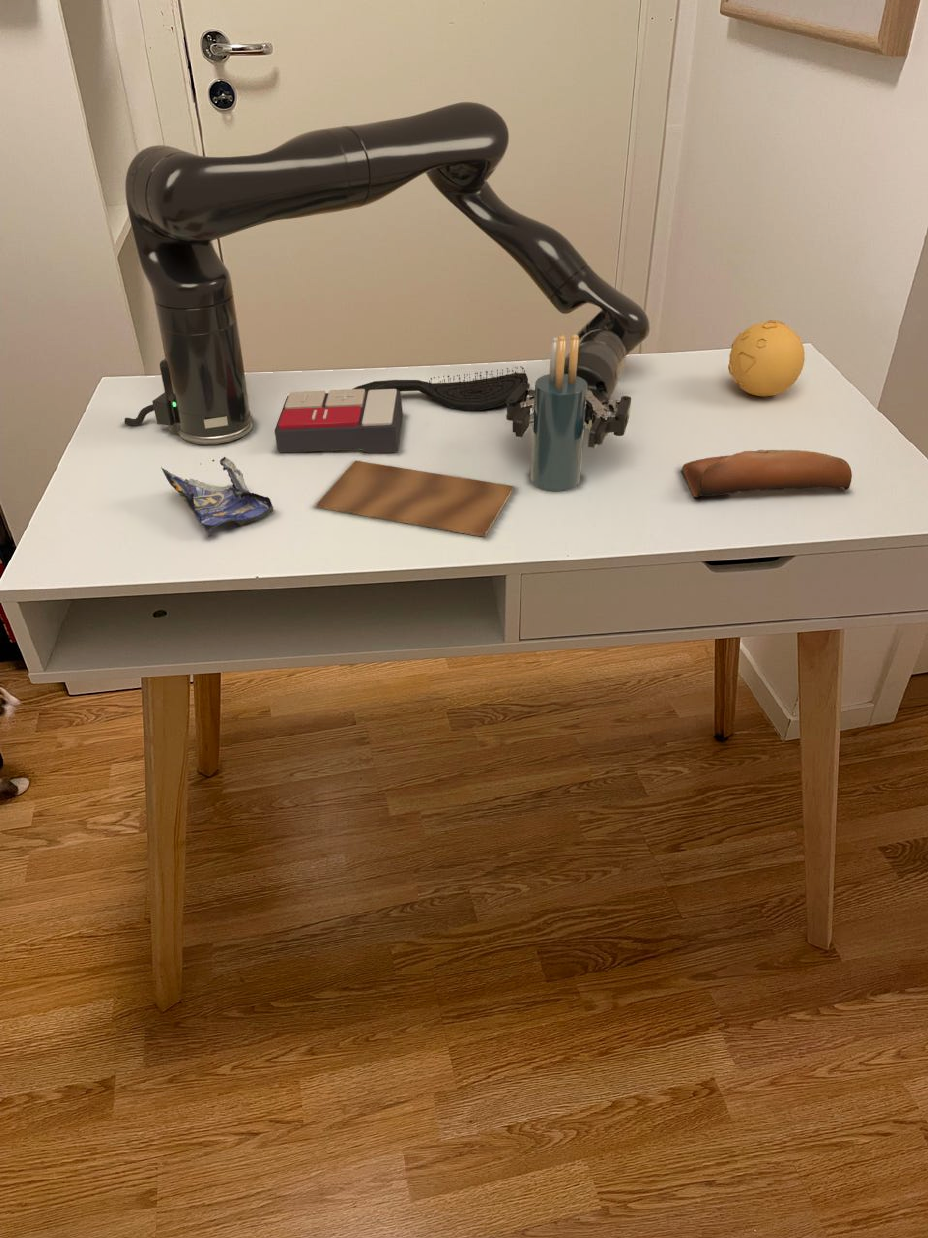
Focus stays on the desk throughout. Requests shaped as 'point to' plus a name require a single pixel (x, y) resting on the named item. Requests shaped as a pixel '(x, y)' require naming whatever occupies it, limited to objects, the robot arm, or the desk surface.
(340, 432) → the calculator
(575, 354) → the cutlery holder
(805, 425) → the desk surface
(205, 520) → the snack package
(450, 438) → the desk surface
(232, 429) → the robot arm
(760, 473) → the sunglasses case
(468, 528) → the brown wooden board
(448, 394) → the hairbrush
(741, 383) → the stress ball
